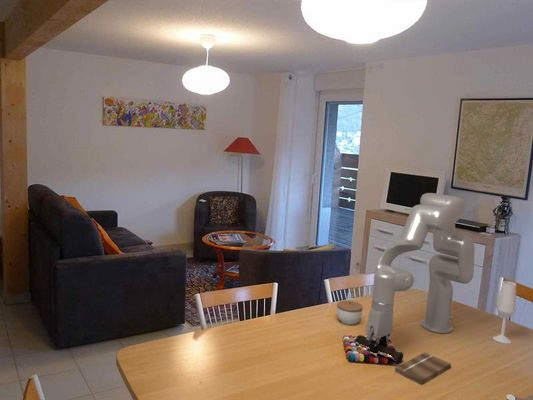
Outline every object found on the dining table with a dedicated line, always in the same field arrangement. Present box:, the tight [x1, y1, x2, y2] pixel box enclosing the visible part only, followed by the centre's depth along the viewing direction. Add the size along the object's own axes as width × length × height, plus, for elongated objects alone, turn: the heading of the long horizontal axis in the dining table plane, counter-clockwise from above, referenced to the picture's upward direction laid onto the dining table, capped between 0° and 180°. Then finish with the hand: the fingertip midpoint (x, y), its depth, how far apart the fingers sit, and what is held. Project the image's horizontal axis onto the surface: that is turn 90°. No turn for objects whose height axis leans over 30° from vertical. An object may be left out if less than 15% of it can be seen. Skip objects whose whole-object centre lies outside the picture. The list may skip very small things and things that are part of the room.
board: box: [394, 352, 452, 385], centre depth 157 cm, size 19×10×2 cm, turn 131°
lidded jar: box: [336, 300, 364, 326], centre depth 194 cm, size 11×11×9 cm
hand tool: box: [354, 334, 404, 365], centre depth 167 cm, size 19×4×5 cm, turn 44°
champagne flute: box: [492, 280, 517, 344], centre depth 184 cm, size 7×7×24 cm
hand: (377, 352), depth 166 cm, fingers open, 4 cm apart
